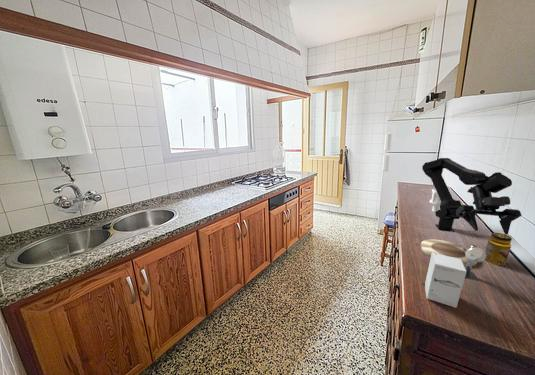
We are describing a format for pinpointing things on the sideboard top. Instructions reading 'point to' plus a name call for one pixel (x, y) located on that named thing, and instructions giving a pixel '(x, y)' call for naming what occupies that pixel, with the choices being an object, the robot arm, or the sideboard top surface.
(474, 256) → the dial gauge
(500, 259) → the condiment
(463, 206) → the robot arm
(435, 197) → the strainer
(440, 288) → the supplement box
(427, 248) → the ring
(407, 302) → the sideboard top surface
